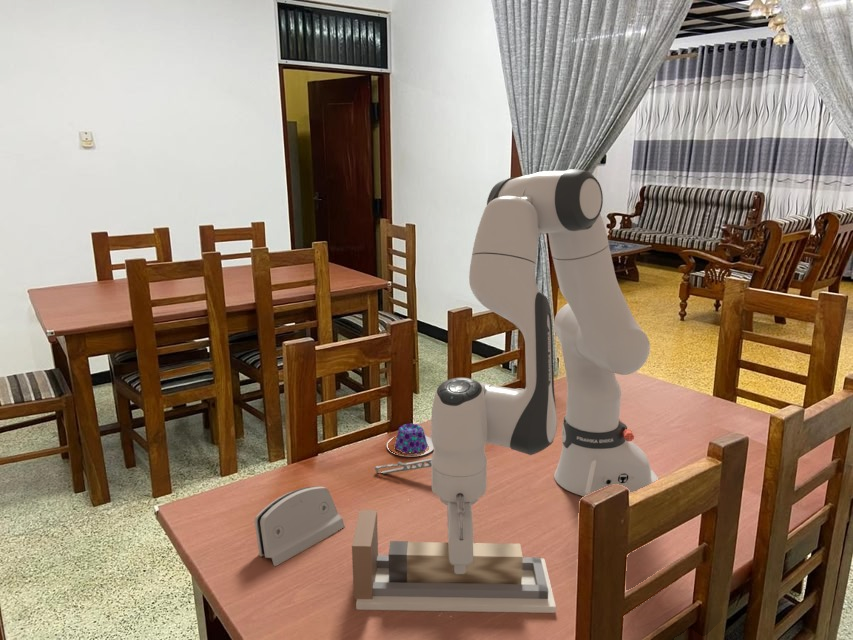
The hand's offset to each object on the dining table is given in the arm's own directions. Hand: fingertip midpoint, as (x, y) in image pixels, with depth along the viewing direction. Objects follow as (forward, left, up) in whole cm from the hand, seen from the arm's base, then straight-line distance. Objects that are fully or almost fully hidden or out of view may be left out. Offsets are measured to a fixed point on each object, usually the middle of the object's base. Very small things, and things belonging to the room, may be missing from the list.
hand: (458, 552), depth 106 cm
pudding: (+10, -50, -7) cm, 52 cm away
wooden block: (+1, 0, -6) cm, 6 cm away
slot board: (+1, 0, -7) cm, 7 cm away
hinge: (+30, -13, -7) cm, 33 cm away
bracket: (+6, -35, -7) cm, 36 cm away
